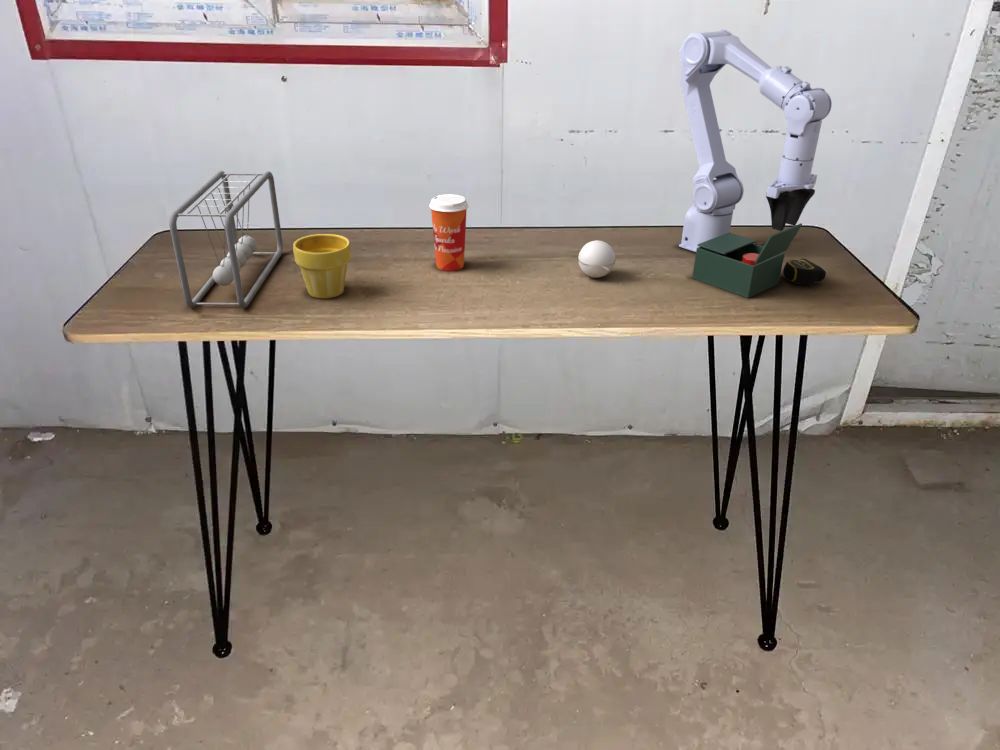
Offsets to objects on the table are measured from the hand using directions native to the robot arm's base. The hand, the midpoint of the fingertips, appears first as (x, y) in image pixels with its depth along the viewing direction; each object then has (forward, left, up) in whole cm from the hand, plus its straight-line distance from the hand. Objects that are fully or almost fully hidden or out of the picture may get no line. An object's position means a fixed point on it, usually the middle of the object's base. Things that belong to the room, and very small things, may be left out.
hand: (783, 226), depth 152 cm
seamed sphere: (-22, -30, -10) cm, 38 cm away
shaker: (0, -10, -10) cm, 13 cm away
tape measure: (+6, +1, -10) cm, 12 cm away
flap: (+4, -10, 0) cm, 10 cm away
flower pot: (-50, -74, -10) cm, 90 cm away
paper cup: (-46, -48, -10) cm, 67 cm away
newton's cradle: (-66, -84, -10) cm, 108 cm away
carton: (-3, -10, -10) cm, 14 cm away
